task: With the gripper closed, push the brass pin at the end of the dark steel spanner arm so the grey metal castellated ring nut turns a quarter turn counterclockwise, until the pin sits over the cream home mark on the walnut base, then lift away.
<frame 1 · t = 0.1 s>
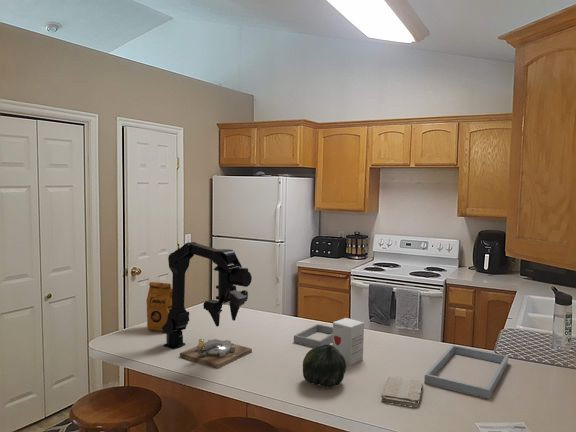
hand: (225, 323, 182), 15 cm above the countertop, fingers open, 9 cm apart
squash: (324, 383, 164), on the countertop
slate carton frame: (468, 372, 174), on the countertop
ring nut: (214, 342, 188), point 5 cm above the countertop, hinge at 0.0°
supplement box: (347, 360, 186), on the countertop
washcloth: (402, 395, 157), on the countertop
coffee package: (161, 330, 219), on the countertop
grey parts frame: (318, 338, 209), on the countertop
walnut base: (216, 354, 189), on the countertop
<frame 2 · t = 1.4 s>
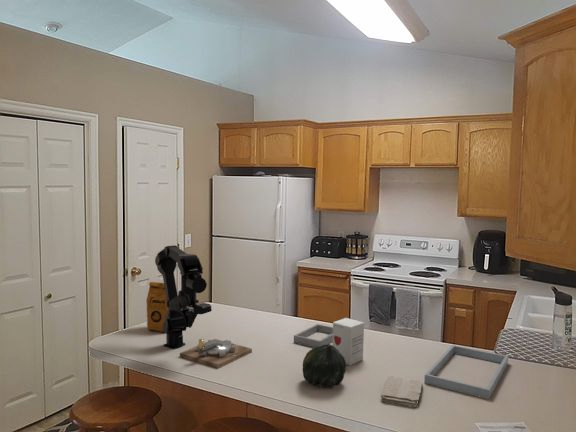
hand: (188, 327, 185), 12 cm above the countertop, fingers closed
nothing on the countertop moved.
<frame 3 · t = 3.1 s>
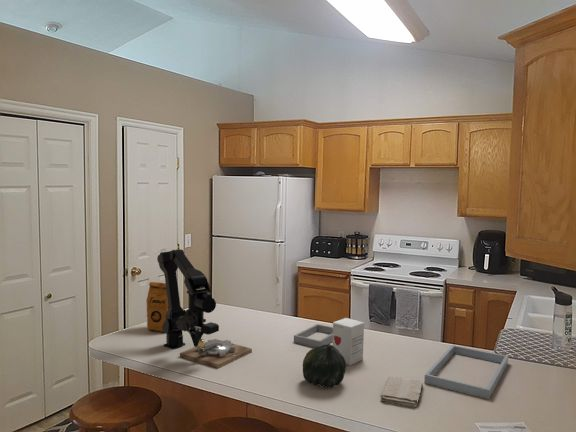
hand: (195, 346, 183), 5 cm above the countertop, fingers closed
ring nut: (214, 342, 188), point 5 cm above the countertop, hinge at 0.5°, touching gripper
everything else where it was.
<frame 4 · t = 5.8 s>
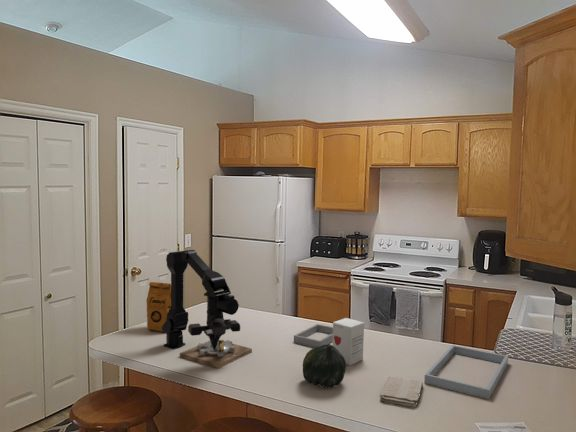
hand: (214, 349, 180), 5 cm above the countertop, fingers closed
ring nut: (216, 343, 188), point 5 cm above the countertop, hinge at 54.5°, touching gripper
everything else where it was.
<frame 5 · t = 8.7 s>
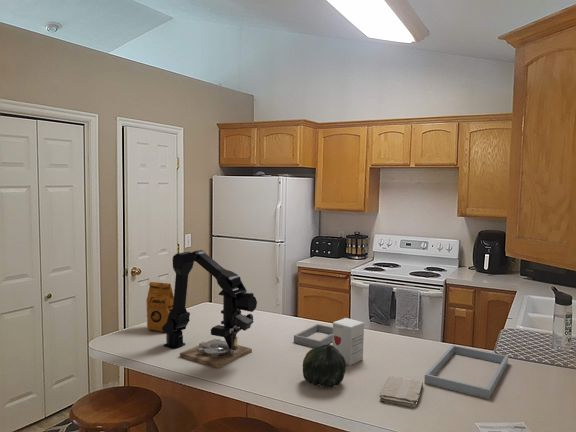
hand: (230, 347, 182), 5 cm above the countertop, fingers closed
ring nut: (218, 342, 188), point 5 cm above the countertop, hinge at 97.8°, touching gripper
everything else where it was.
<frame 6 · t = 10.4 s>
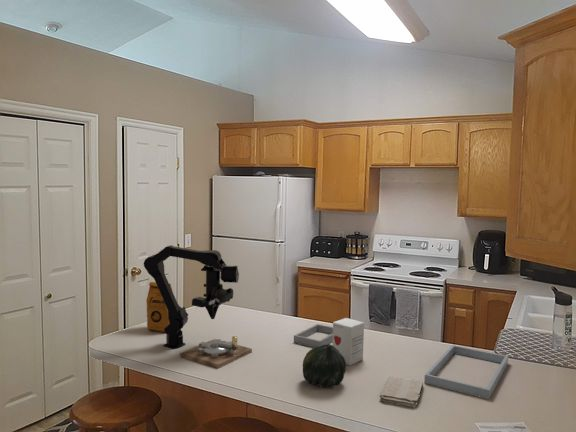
hand: (212, 319, 196), 12 cm above the countertop, fingers closed
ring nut: (218, 342, 188), point 5 cm above the countertop, hinge at 98.0°
everything else where it was.
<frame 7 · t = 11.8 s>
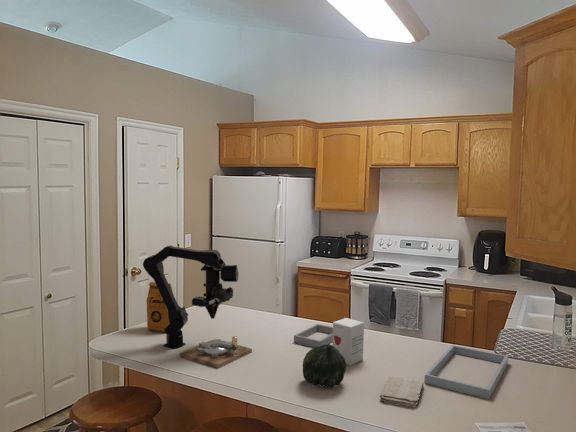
hand: (212, 318, 197), 12 cm above the countertop, fingers closed
nothing on the countertop moved.
at the end: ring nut at +98° (first picture: +0°) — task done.
